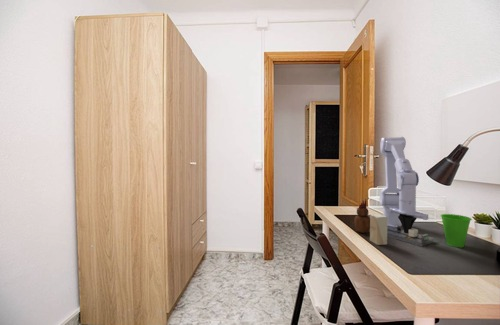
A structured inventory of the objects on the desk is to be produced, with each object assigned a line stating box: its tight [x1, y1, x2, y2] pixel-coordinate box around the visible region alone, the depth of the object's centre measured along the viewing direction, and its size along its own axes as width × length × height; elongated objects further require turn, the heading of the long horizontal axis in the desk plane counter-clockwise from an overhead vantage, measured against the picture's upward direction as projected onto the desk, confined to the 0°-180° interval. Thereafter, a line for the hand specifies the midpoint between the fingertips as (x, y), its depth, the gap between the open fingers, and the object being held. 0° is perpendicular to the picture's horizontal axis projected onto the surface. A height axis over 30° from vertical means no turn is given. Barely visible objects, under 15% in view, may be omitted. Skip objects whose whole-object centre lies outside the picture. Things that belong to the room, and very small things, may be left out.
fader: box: [409, 227, 419, 237], centre depth 95 cm, size 3×2×3 cm
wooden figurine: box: [353, 198, 370, 234], centre depth 107 cm, size 7×6×15 cm
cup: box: [440, 213, 472, 248], centre depth 90 cm, size 9×9×11 cm
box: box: [369, 213, 388, 246], centre depth 93 cm, size 5×4×11 cm
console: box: [387, 225, 436, 247], centre depth 99 cm, size 10×19×4 cm, turn 28°
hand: (407, 232), depth 97 cm, fingers closed
